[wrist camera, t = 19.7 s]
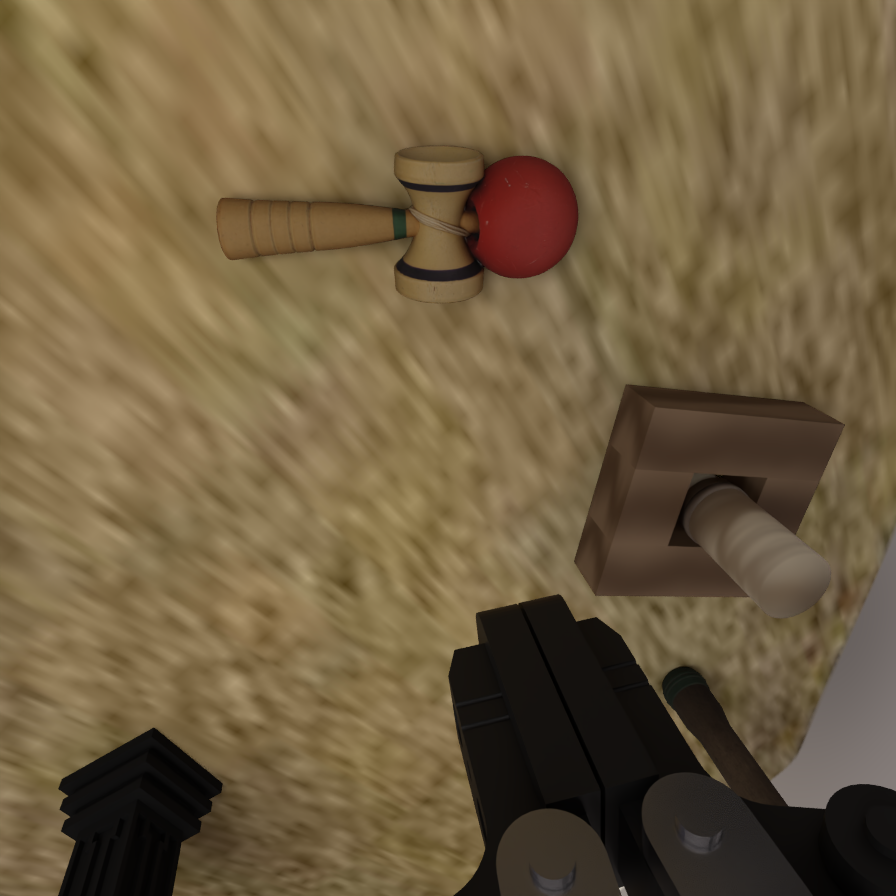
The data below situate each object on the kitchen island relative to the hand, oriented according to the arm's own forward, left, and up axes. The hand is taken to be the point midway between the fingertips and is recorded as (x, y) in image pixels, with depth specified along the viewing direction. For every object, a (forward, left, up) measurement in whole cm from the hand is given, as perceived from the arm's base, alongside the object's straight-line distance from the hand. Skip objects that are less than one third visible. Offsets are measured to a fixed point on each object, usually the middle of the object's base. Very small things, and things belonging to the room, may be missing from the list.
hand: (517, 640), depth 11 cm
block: (+11, +24, -28) cm, 39 cm away
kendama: (-4, +1, -29) cm, 29 cm away
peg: (+11, +24, -28) cm, 39 cm away
